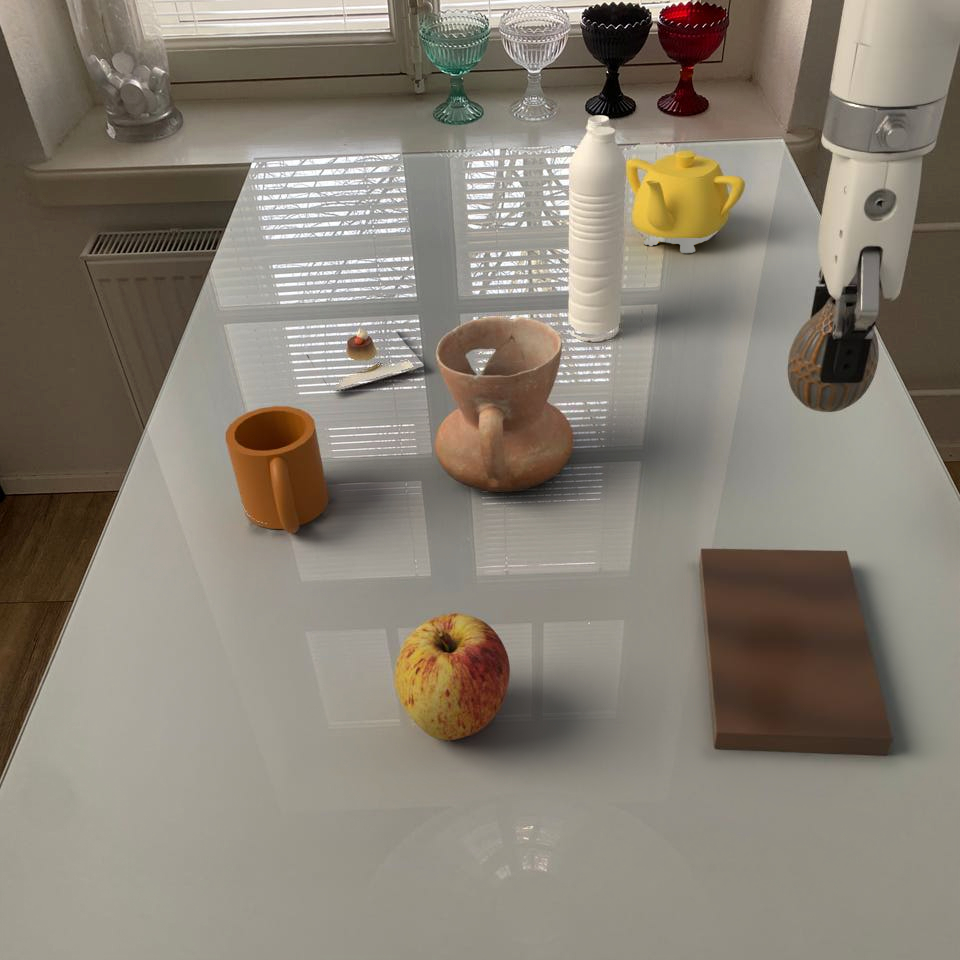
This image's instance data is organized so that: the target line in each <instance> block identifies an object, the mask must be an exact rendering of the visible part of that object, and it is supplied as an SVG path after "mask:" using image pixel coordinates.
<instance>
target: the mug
mask: <svg viewBox="0 0 960 960" xmlns="http://www.w3.org/2000/svg"><path fill="white" fill-rule="evenodd" d="M225 444H226V448H227V451H228V453H229V458H230V462H231V466H232V471H233V473H234V474H233V475H234V477H235V480H236V481H235V482H236V484H237V485H236V486H237V489H238V493H239V496H240V500H241V504H242V507H243V506H244V508H245V510H246V511H247V513H248V515H250V516H251V517H252V518H254V519H255V520H254V519H252V518H251V517H249V516H248V515H247V513H246V512H245V510H244V508H243V511H244V514H245V516H246V518H248V520H249V521H250V522H252V523H253V524H255V525H257V526H259V527H262V528H266V529H270V530H271V529H273V530H275V529H276V530H284V531H285V533H288V534H295V533H297V532H298V530H299V528H300V527H301V526H302V525H305V524H307V523H310V522H312V521H313V520H315V519H316V518H318V517H319V516H321V514H322V513H323V512H324V511H325V510H326V509H327V506H328V504H329V500H330V499H329V493H328V488H327V481H326V477H325V472H324V466H323V461H322V454H321V449H320V445H319V440H318V433H317V429H316V423H315V419H314V418H313V417H312V416H311V415H310V413H308V412H307V411H305V410H302V409H301V408H297V407H292V406H288V405H287V406H286V405H284V406H283V405H273V406H266V407H261V408H256V409H254V410H250V411H248V412H245V413H244V414H242V415H241V416H239V417H237V418H236V419H234V421H232V422H231V423H230V424H229V426H228V428H227V429H226V430H225ZM256 520H257V521H260V522H257V521H256ZM261 522H263V523H261ZM265 523H267V524H265Z"/></svg>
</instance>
